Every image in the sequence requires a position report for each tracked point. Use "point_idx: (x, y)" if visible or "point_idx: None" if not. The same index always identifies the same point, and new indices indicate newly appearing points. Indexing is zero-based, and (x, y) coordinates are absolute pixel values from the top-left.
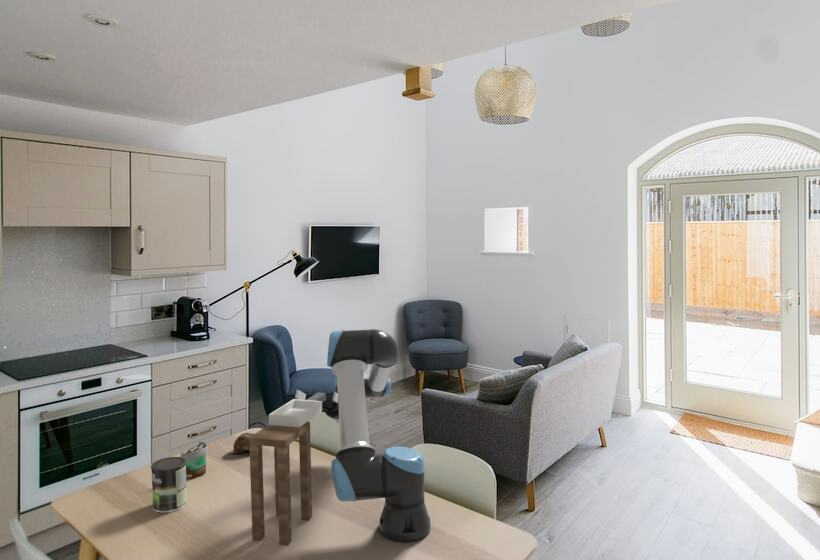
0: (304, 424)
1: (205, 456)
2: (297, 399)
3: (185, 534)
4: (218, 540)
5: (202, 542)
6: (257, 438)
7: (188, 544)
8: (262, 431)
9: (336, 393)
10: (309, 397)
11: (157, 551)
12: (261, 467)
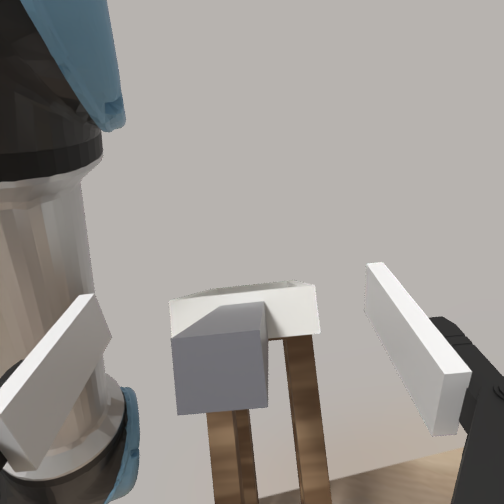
0: None
1: None
2: (291, 287)
3: None
4: (382, 498)
5: (402, 487)
6: None
7: (418, 478)
8: None
9: (75, 305)
10: (464, 459)
11: (440, 456)
12: (286, 370)
